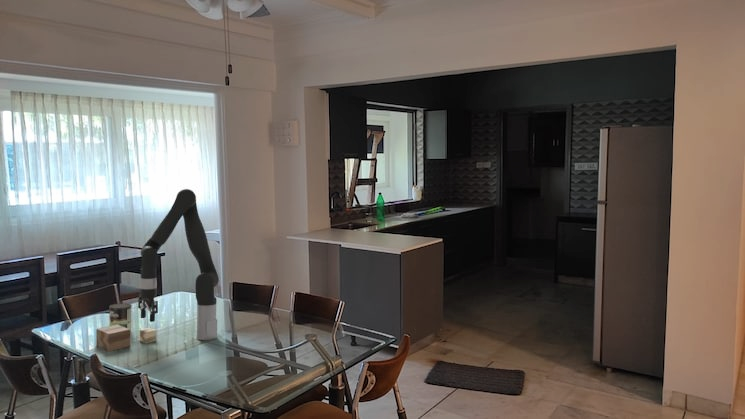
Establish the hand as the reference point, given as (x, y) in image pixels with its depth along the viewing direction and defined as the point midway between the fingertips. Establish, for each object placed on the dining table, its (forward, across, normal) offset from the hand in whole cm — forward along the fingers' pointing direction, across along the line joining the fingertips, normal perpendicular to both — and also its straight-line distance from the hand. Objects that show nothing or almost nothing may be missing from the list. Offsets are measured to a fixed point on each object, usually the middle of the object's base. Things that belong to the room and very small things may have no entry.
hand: (147, 319), depth 263 cm
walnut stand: (+10, +3, +15) cm, 18 cm away
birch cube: (+10, -1, 0) cm, 10 cm away
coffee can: (+11, +20, +3) cm, 23 cm away
